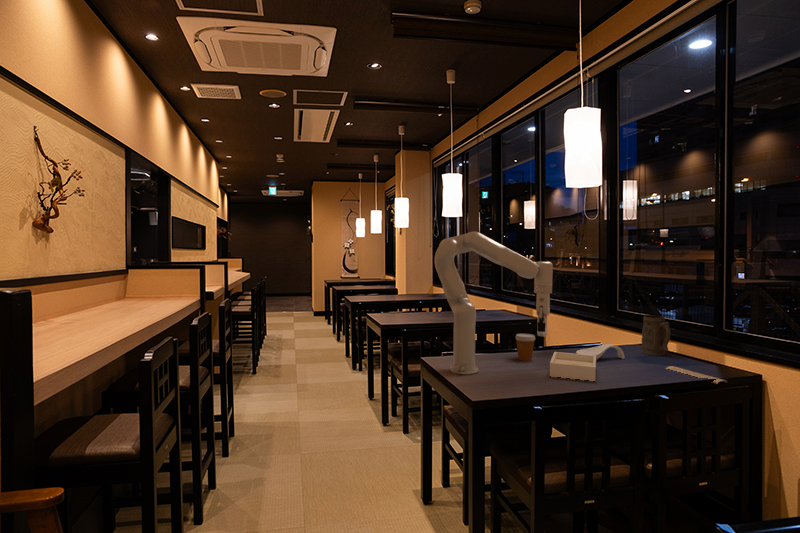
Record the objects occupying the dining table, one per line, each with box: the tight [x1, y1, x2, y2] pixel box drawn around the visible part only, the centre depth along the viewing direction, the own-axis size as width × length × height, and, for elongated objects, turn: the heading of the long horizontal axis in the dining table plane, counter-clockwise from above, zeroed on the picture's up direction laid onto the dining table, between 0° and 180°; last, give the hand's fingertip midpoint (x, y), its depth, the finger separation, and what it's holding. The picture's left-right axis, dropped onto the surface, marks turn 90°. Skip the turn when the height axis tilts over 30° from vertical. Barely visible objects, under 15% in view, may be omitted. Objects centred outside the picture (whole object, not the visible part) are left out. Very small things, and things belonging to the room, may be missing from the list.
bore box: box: [549, 351, 597, 382], centre depth 203 cm, size 22×18×6 cm
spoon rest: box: [575, 343, 626, 361], centre depth 228 cm, size 24×12×7 cm, turn 99°
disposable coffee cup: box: [515, 333, 536, 362], centre depth 226 cm, size 10×10×12 cm
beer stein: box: [641, 314, 672, 357], centre depth 237 cm, size 15×11×20 cm
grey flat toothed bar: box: [665, 365, 728, 385], centre depth 200 cm, size 24×7×2 cm, turn 21°
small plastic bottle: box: [536, 314, 548, 337], centre depth 204 cm, size 4×4×10 cm
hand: (541, 330), depth 204 cm, fingers closed on small plastic bottle, 4 cm apart
